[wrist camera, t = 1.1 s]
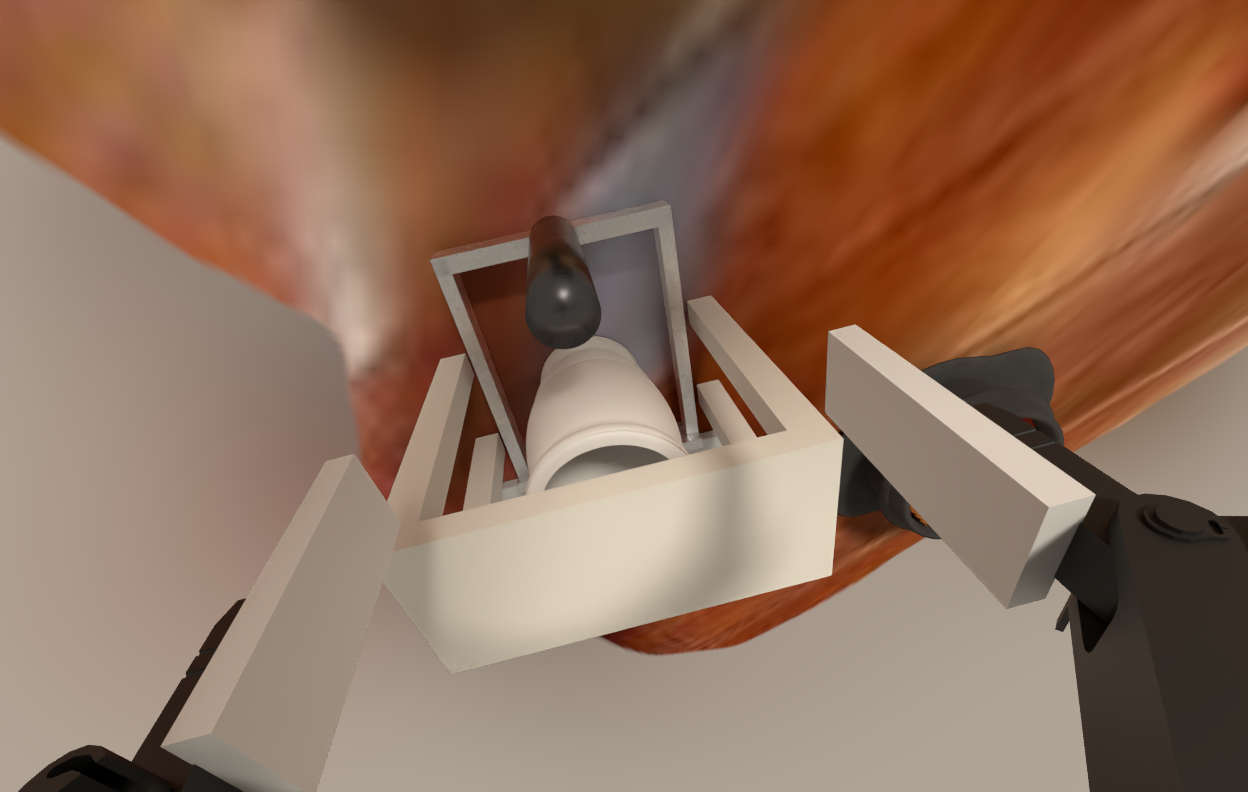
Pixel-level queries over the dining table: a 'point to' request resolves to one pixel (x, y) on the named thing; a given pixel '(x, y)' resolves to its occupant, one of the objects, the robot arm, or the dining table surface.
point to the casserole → (995, 380)
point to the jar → (596, 417)
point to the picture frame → (565, 302)
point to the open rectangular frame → (613, 519)
